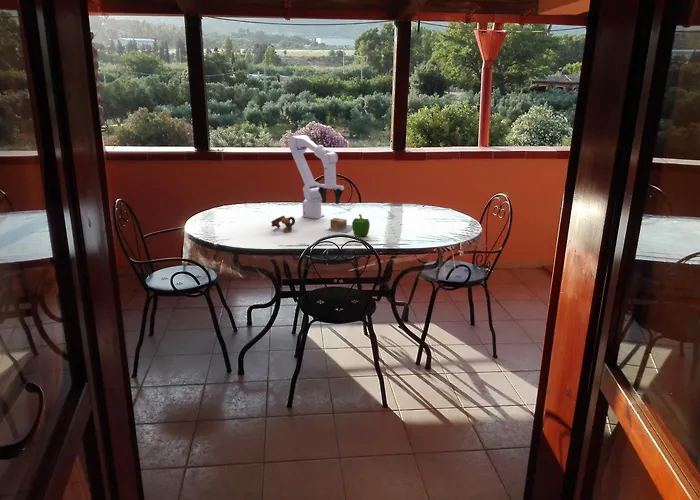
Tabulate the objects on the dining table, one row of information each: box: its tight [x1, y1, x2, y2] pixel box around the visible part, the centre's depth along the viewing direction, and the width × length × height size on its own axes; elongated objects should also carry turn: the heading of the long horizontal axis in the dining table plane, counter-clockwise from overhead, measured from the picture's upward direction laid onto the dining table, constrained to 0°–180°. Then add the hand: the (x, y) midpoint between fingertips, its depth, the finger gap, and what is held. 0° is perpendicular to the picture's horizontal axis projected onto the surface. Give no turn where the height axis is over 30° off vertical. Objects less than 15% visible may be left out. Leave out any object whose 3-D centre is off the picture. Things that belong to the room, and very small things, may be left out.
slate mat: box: [328, 224, 353, 234], centre depth 272 cm, size 10×12×1 cm
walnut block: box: [329, 217, 348, 229], centre depth 272 cm, size 4×4×7 cm
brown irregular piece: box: [270, 215, 296, 233], centre depth 269 cm, size 12×10×8 cm
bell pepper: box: [351, 213, 371, 237], centre depth 259 cm, size 8×8×10 cm
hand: (330, 202), depth 280 cm, fingers open, 7 cm apart
